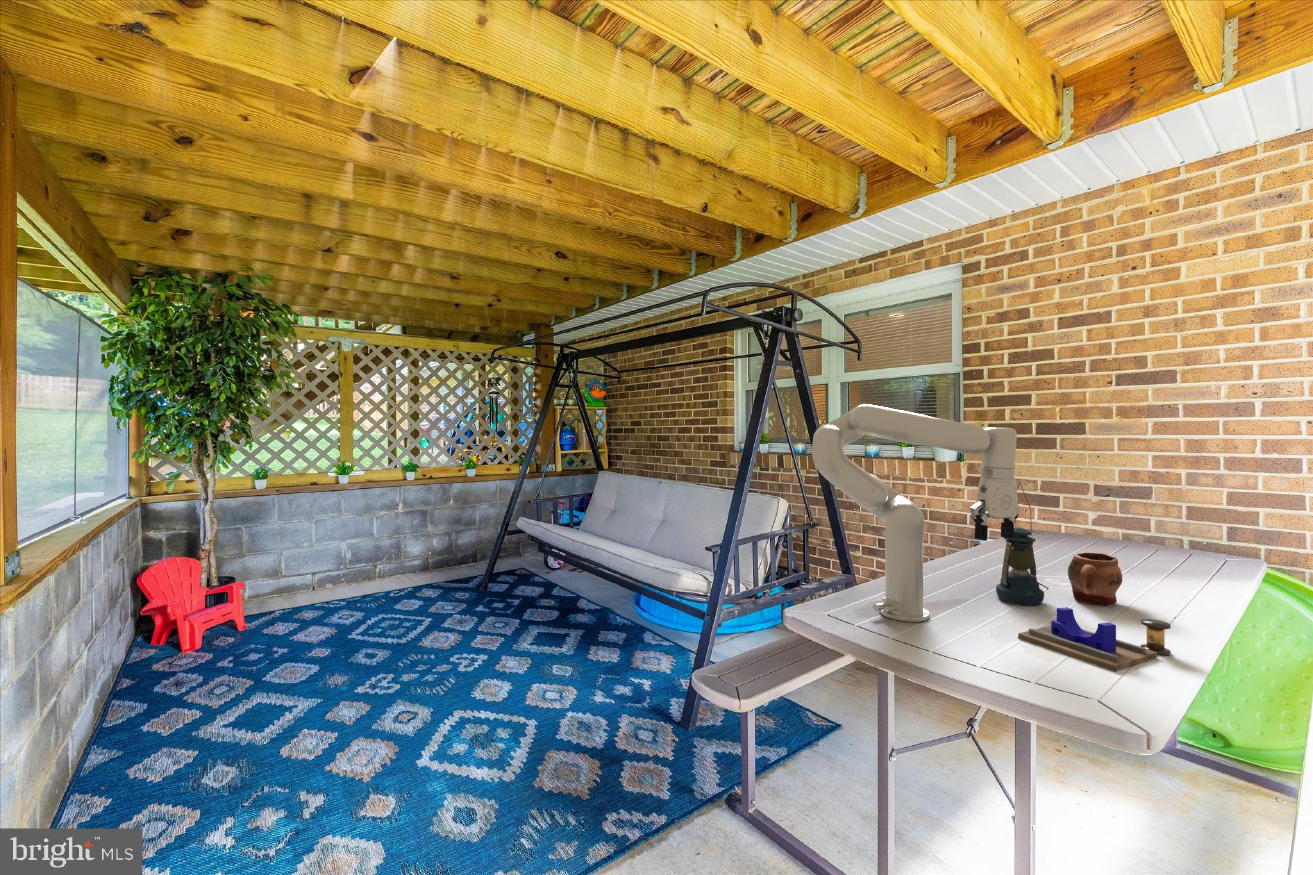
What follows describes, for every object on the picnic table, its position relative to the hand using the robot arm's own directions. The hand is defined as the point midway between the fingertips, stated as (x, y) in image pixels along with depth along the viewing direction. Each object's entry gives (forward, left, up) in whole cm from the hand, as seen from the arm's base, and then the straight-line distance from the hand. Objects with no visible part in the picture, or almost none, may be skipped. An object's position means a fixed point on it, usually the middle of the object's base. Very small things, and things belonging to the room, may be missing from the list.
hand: (993, 538), depth 142 cm
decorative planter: (+39, -3, -22) cm, 45 cm away
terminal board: (+2, -20, -22) cm, 30 cm away
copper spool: (+14, -28, -22) cm, 38 cm away
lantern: (+23, +8, -22) cm, 33 cm away
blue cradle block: (+2, -20, -21) cm, 29 cm away
